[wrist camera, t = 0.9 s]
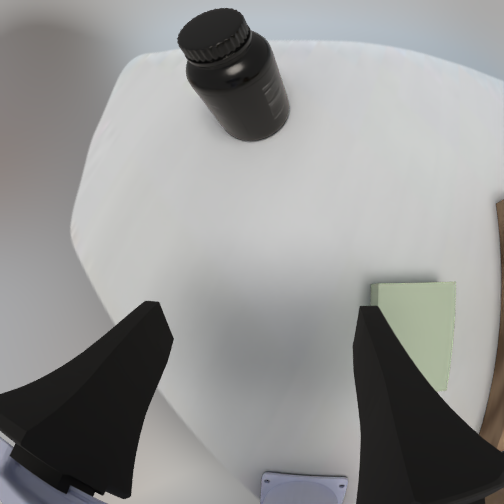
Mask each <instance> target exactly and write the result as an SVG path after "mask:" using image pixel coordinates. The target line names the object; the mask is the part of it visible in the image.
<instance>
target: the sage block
mask: <svg viewBox="0 0 504 504" xmlns="http://www.w3.org/2000/svg"><path fill="white" fill-rule="evenodd" d="M455 300H456V282H431V283H379V284H371V299H370V306H378V307H379V308H380V310H381V311H382V313H383V315H384V317H385V318H386V320H387V322H388V323H389V325H390V327H391V328H392V330H393V332H394V333H395V335H396V336H397V338H398V340H399V341H400V343H401V344H402V346H403V347H404V349H405V350H406V352H407V353H408V355H409V356H410V358H411V359H412V360H413V362H414V363H415V365H416V366H417V367H418V369H419V370H420V372H421V373H422V374H423V376H424V377H425V378H426V380H427V381H428V382H429V383H430V385H431V386H432V387H433V388H434V389H435V391H436V392H438V391H446V390H447V384H448V378H449V371H450V364H451V356H452V347H453V336H454V322H455Z"/></svg>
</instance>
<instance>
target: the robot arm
mask: <svg viewBox="0 0 504 504" xmlns="http://www.w3.org/2000/svg"><path fill="white" fill-rule="evenodd" d="M173 340H174V338H173V336H172V333H171V331H170V328H169V326H168V323H167V321H166V318H165V316H164V313H163V311H162V308H161V306H160V303H159V302H155V301H145V302H143V303H142V304H141V305H139V306H138V307H137V308H136V309H135V310H133V311H132V312H131V313H130V314H129V315H127V316H126V317H125V318H124V319H123V320H122V321H120V322H119V323H118V324H117V325H116V326H115V327H113V328H112V329H111V330H110V331H109V332H108V333H106V334H105V335H104V336H103V337H101V338H100V339H99V340H98V341H96V342H95V343H94V344H93V345H91V346H90V347H89V348H88V349H86V350H85V351H84V352H83V353H81V354H80V355H78V356H77V357H75V358H74V359H72V360H71V361H69V362H68V363H66V364H65V365H63V366H62V367H60V368H58V369H57V370H55V371H53V372H51V373H49V374H48V375H46V376H44V377H42V378H40V379H38V380H36V381H34V382H32V383H30V384H27V385H25V386H22V387H20V388H18V389H14V390H11V391H8V392H5V393H2V394H0V431H1V432H2V433H4V434H5V435H6V436H7V437H9V438H10V439H11V440H13V441H14V442H15V443H16V444H15V446H14V447H13V446H11V445H10V444H9V443H7V442H6V441H5V440H4V439H2V438H1V437H0V501H1V502H2V504H107V503H105V502H103V501H101V500H98V499H96V498H94V497H93V495H94V493H95V492H96V493H98V494H100V495H104V493H105V491H106V492H108V493H110V494H112V495H115V496H117V497H120V498H122V499H126V498H129V497H130V496H131V489H132V478H133V469H134V462H135V456H136V451H137V447H138V442H139V438H140V433H141V430H142V426H143V422H144V419H145V415H146V412H147V410H148V406H149V404H150V402H151V400H152V397H153V395H154V393H155V390H156V388H157V385H158V383H159V381H160V378H161V376H162V374H163V371H164V369H165V367H166V364H167V362H168V358H169V355H170V351H171V347H172V344H173ZM353 366H354V378H355V385H356V393H357V401H358V409H359V418H360V430H361V449H360V470H359V483H358V492H357V501H356V504H485V497H487V496H489V495H491V494H493V493H495V492H497V491H498V490H500V489H502V488H504V453H502V452H501V451H499V450H498V449H497V448H495V447H494V446H493V445H491V444H490V443H489V442H487V441H486V440H485V439H483V438H482V437H481V436H480V435H479V434H478V433H476V432H475V431H474V430H473V429H472V428H471V427H470V426H469V425H468V424H467V423H466V422H465V421H464V420H462V419H461V418H460V417H459V416H458V415H457V414H456V413H455V412H454V411H453V410H452V409H451V408H450V407H449V405H448V404H447V403H446V402H445V401H444V400H443V399H442V398H441V397H440V395H439V394H438V393H437V392H436V391H435V389H434V388H433V387H432V386H431V385H430V383H429V382H428V381H427V380H426V378H425V377H424V376H423V374H422V373H421V372H420V370H419V369H418V367H417V366H416V365H415V363H414V362H413V360H412V359H411V358H410V356H409V355H408V353H407V352H406V350H405V349H404V347H403V346H402V344H401V343H400V341H399V340H398V338H397V336H396V335H395V333H394V332H393V330H392V328H391V327H390V325H389V323H388V322H387V320H386V318H385V317H384V315H383V313H382V311H381V310H380V308H379V307H378V306H360V308H359V315H358V320H357V326H356V332H355V337H354V342H353ZM266 480H269V481H266ZM347 484H348V479H347V478H346V477H320V476H302V475H289V474H279V473H271V472H266V473H264V474H263V476H262V486H261V500H260V504H343V500H344V496H345V492H346V488H347ZM340 485H343V486H340Z"/></svg>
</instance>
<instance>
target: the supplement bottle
mask: <svg viewBox="0 0 504 504" xmlns="http://www.w3.org/2000/svg"><path fill="white" fill-rule="evenodd" d="M177 39H178V44H179V47H180V48H181V50H182V51H183V53H184V54H185V57H186V58H187V60H188V61H187V64H186V76H187V79H188V81H189V83H190V85H191V86H192V87H193V89H194V90H195V91H196V93H197V94H198V95H199V96H200V98H201V99H202V100H203V102H204V103H205V104H206V106H207V107H208V108H209V110H210V111H211V112H212V113H213V115H214V116H215V117H216V119H217V120H218V121H219V123H220V124H221V125H222V127H223V128H224V129H225V130H226V131H227V132H228V133H229V134H230V135H231V136H233V137H235V138H238V139H241V140H247V141H252V140H259V139H263V138H266V137H268V136H270V135H272V134H273V133H275V132H276V131H277V130H279V129H280V128H281V127H282V125H283V124H284V123H285V121H286V119H287V117H288V113H289V102H288V98H287V94H286V91H285V88H284V85H283V82H282V78H281V75H280V72H279V69H278V66H277V63H276V60H275V57H274V54H273V51H272V49H271V47H270V45H269V43H268V41H267V40H266V39H265V38H264V37H262V36H261V35H259V34H258V33H256V32H254V31H251V30H250V28H249V26H248V25H247V23H246V21H245V19H244V17H243V15H242V14H241V13H240V12H238V11H237V10H233V9H229V8H220V9H214V10H210V11H207V12H204V13H202V14H200V15H198V16H197V17H195V18H193V19H192V20H191V21H189V22H188V23H187V24H186V25H185V26H184V27H183V29H182V30H181V31H180V33H179V35H178V38H177Z"/></svg>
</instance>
